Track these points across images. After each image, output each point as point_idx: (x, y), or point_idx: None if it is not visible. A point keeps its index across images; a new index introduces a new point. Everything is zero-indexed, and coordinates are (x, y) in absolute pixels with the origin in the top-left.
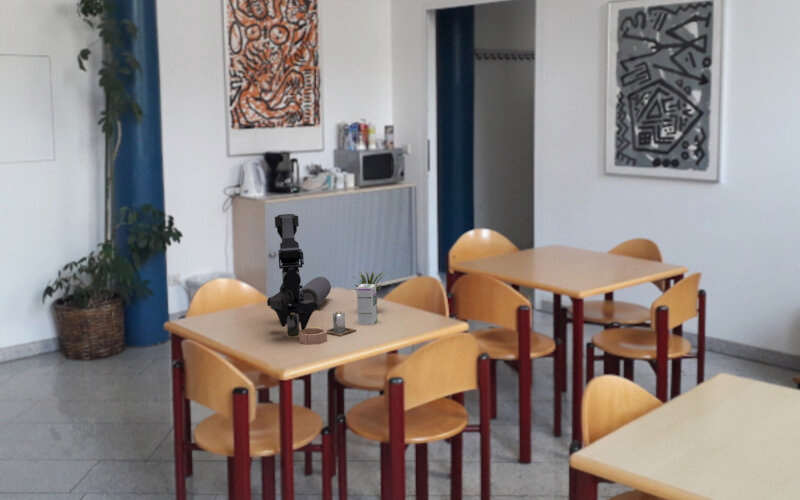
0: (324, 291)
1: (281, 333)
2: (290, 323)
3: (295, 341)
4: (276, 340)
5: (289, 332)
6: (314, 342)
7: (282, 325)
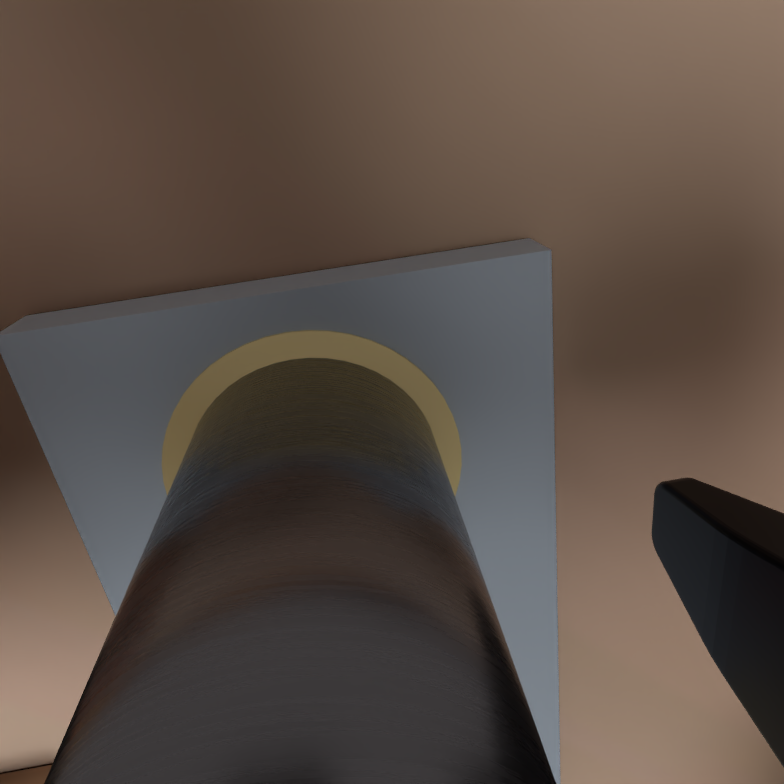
0: None
1: (739, 470)
2: (179, 586)
3: None
4: (447, 90)
5: (278, 398)
6: None
7: (685, 494)
